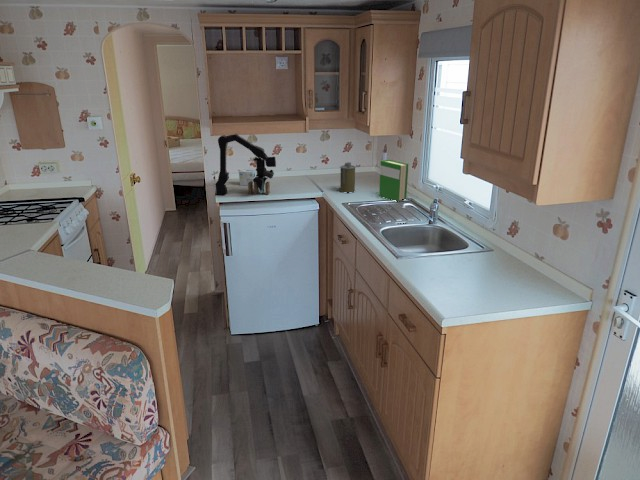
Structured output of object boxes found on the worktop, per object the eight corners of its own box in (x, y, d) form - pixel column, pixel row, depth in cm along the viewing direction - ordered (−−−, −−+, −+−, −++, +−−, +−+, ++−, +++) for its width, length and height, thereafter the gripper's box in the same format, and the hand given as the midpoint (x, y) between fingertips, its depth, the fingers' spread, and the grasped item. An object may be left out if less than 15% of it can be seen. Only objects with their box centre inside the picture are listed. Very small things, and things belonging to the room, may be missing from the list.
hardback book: (406, 200, 299) (408, 163, 291) (397, 202, 295) (400, 165, 287) (387, 194, 313) (388, 159, 304) (379, 196, 309) (380, 160, 300)
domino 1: (248, 194, 316) (248, 182, 313) (250, 192, 320) (250, 181, 318) (251, 194, 316) (250, 182, 313) (253, 192, 320) (252, 181, 317)
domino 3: (265, 194, 314) (265, 183, 311) (267, 192, 319) (267, 181, 316) (268, 195, 314) (267, 183, 311) (269, 193, 318) (269, 181, 316)
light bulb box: (256, 183, 343) (255, 169, 339) (253, 185, 337) (253, 171, 333) (242, 183, 344) (240, 169, 340) (239, 185, 338) (238, 171, 334)
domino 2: (254, 194, 315) (253, 183, 312) (256, 192, 320) (255, 181, 317) (256, 194, 315) (256, 183, 312) (258, 192, 320) (258, 181, 317)
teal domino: (259, 193, 314) (259, 181, 311) (262, 191, 319) (261, 180, 316) (262, 193, 314) (261, 181, 311) (264, 191, 319) (263, 180, 316)
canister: (344, 188, 328) (344, 160, 321) (357, 190, 323) (358, 162, 316) (337, 192, 319) (337, 163, 312) (350, 194, 314) (350, 165, 307)
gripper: (268, 170, 300) (269, 193, 306) (275, 164, 317) (276, 186, 323) (252, 169, 302) (253, 192, 308) (260, 164, 319) (261, 185, 325)
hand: (261, 189), depth 316 cm, fingers closed on teal domino, 5 cm apart
